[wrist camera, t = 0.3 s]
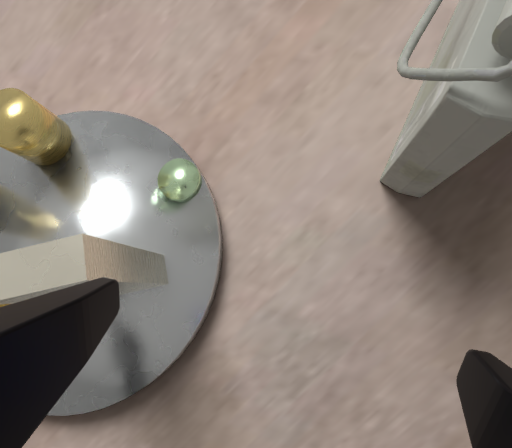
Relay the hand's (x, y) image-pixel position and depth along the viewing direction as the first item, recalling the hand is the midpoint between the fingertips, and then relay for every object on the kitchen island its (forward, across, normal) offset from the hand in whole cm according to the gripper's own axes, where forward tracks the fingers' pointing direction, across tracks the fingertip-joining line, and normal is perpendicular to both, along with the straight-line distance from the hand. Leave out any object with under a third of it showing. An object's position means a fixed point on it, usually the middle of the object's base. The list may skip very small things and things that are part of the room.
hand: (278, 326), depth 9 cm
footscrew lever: (+10, +15, +9) cm, 20 cm away
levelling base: (+13, +16, +7) cm, 22 cm away
